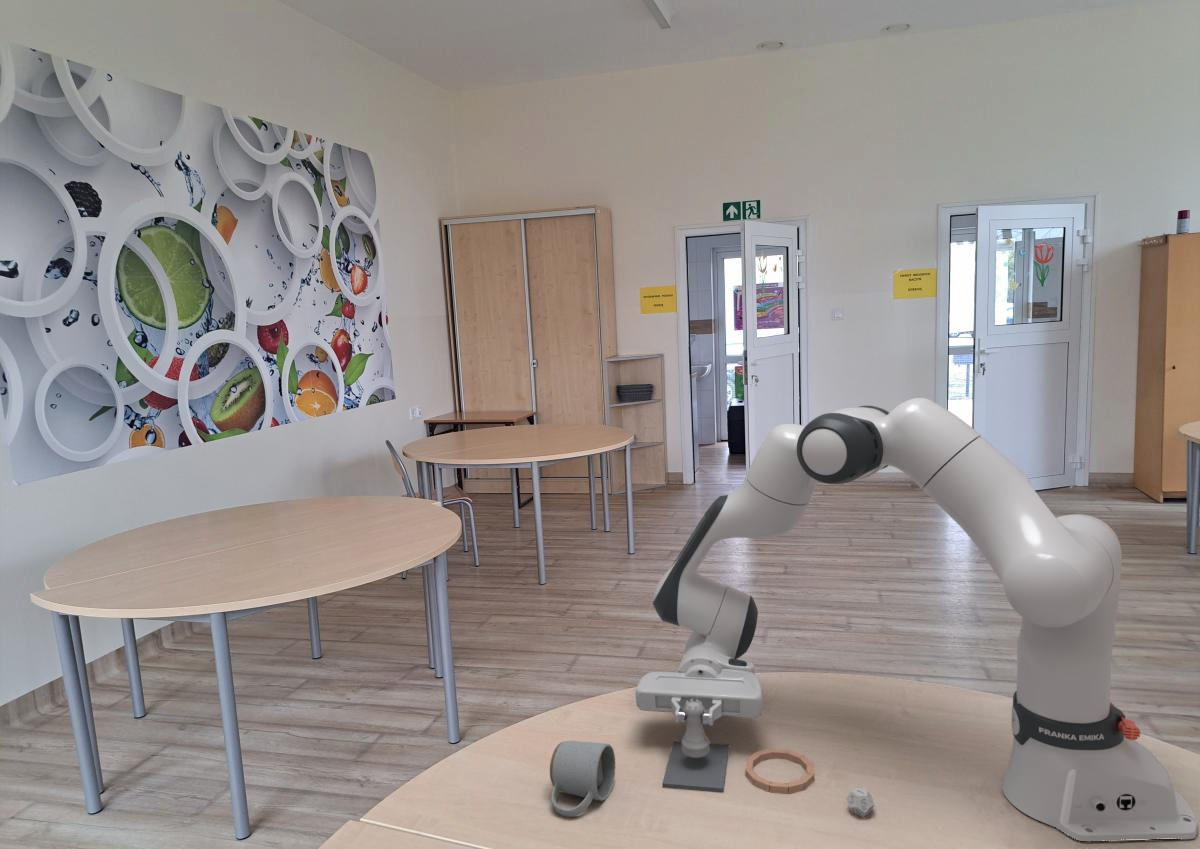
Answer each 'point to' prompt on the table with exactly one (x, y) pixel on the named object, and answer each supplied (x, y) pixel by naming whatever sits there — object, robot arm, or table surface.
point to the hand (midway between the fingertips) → (693, 719)
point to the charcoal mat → (697, 769)
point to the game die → (860, 801)
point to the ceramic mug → (582, 773)
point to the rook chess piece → (694, 731)
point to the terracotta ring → (778, 786)
